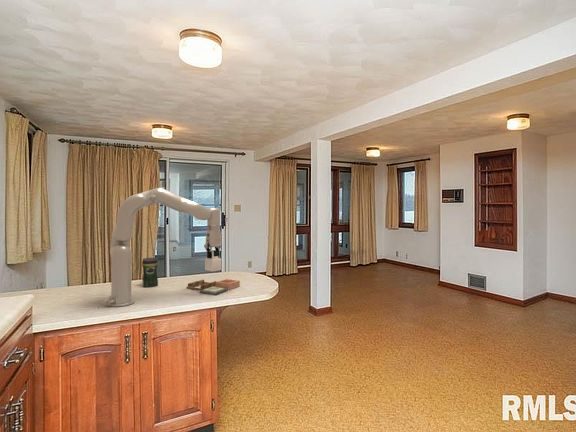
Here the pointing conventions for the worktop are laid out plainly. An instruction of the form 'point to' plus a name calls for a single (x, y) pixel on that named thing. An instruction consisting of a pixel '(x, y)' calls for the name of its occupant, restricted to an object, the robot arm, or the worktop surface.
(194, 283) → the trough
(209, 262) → the medicine bottle
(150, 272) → the coffee jar
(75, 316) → the worktop surface
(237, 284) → the reddish brown square tray
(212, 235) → the robot arm
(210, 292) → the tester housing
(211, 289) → the tester pad
